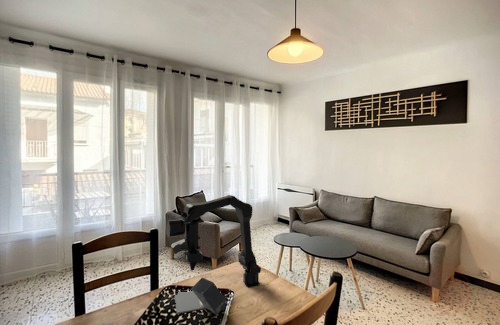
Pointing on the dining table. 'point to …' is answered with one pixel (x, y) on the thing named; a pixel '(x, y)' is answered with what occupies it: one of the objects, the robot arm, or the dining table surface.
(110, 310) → the dining table surface
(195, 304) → the mat
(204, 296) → the small box
